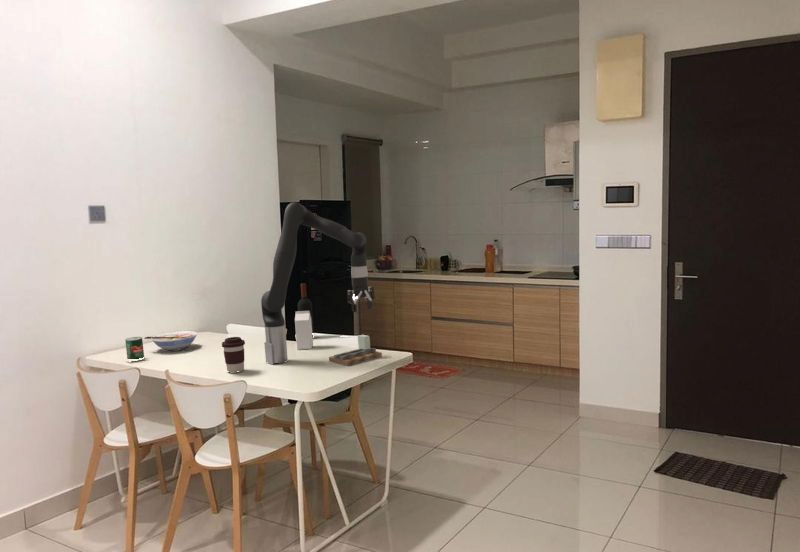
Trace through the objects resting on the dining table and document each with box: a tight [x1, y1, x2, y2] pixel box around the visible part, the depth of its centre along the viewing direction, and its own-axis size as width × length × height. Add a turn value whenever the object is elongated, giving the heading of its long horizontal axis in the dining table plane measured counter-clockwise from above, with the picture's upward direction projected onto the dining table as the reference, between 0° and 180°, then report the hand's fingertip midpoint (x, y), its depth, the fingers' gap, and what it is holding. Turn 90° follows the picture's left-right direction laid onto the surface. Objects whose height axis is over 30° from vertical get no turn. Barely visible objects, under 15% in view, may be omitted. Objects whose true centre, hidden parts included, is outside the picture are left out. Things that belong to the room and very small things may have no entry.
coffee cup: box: [221, 336, 246, 372], centre depth 282 cm, size 10×10×15 cm
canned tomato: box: [124, 336, 145, 360], centre depth 315 cm, size 8×8×11 cm
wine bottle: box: [297, 283, 315, 334], centre depth 343 cm, size 8×8×30 cm
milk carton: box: [294, 310, 314, 351], centre depth 320 cm, size 7×7×19 cm
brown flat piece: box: [328, 347, 383, 367], centre depth 292 cm, size 20×14×4 cm
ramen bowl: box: [144, 330, 198, 351], centre depth 335 cm, size 25×23×8 cm
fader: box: [357, 334, 371, 351], centre depth 295 cm, size 3×5×8 cm, turn 42°
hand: (361, 310), depth 293 cm, fingers open, 8 cm apart
